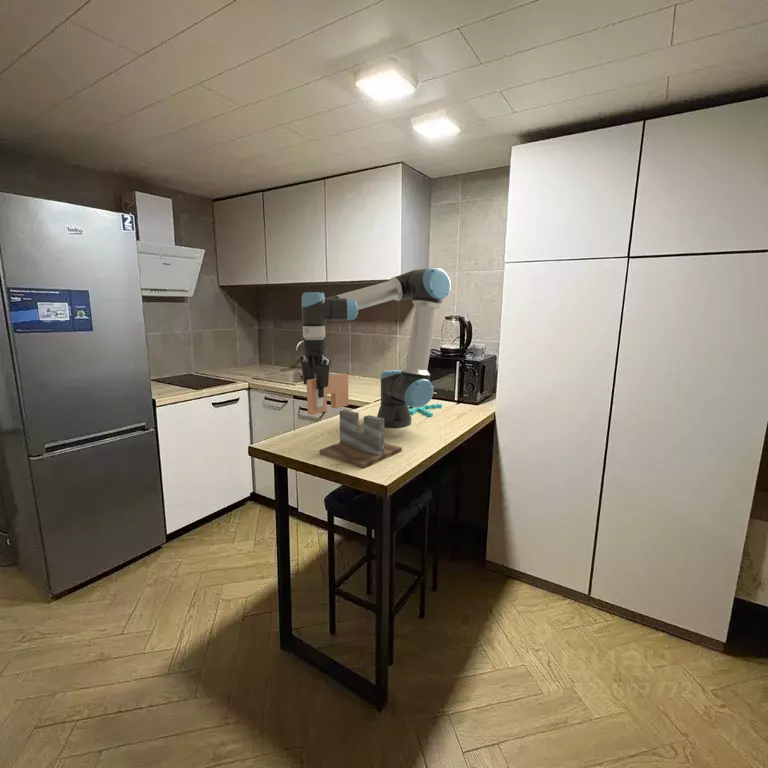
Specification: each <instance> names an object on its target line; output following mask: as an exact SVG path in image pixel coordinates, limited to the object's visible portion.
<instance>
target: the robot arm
mask: <svg viewBox="0 0 768 768" xmlns="http://www.w3.org/2000/svg"><path fill="white" fill-rule="evenodd" d="M451 284H452V283H451V279H450V277H449V275H448V274H447V272H446V271H445V270H444V269H442V268H438V267H428V268H421V269H412V270H410V271H407V272H405V273H402V274H399V275H396V276H392V277H390V278H389V280H388V281H384V282H382V283H377V284H373V285H369V286H366V287H363V288H359V289H355V290H350V291H348V292H344V293H341V294H337V295H332V296H329V297H325V293H324V292H322V291H321V292H317V291H314V292H312V291H311V292H309V291H307V292H305V291H304V292H303V293H302V295H301V315H302V317H301V318H302V338H304V339H303V341H302V344H303V345H302V348H303V350H304V351H305V353H304V355H303V356H300V357H299V361H300V364H301V371H302V379H303V380H302V381H303V384H304V385H305V386H307V380H309V379H315V378H316V382H317V387H316V389H315V391H316V407H321V406H323V397H324V387H328V381H329V376H330V365H331V361H332V360H331V358H327V357H326V354H325V350H326V348H327V346H326V345H327V344H326V342H327V341H326V339H325V338H326V321H347V322H348V321H353V320H355V319H357V317H358V315H359V310H362V309H366V308H369V307H373V306H377V305H380V304H383V303H387V302H390V301H393V300H394V301H396V302H399V301H402V300H403V301H404V300H412V301H411V302H412V304H413V305H414V313H413V318H412V324H411V325H412V326H411V332H410V338H409V344H408V349H407V350H408V351H407V357H406V363H405V366H404V368H402V369H389V370H388V369H387V370H384V371H382V372H381V374H380V406H379V409H378V413H377V415H376V417H379V418H384V428H385V427H386V428H403V427H404V428H405V427H407V426H410V425H411V424H412V415H410V412H409V408H408V406H410V407H416V408H419V407H423V406H426V405H428V403H430V401H431V400H432V398H433V395H434V385H432V382H431V381H430V379H431V373H430V372H429V371H428V367H429V362H430V361H429V360H430V355H431V349H432V348H431V347H432V342H433V336H434V331H435V326H436V325H435V324H436V318H437V312H438V309H439V308H441V307H442V306H443V305H442V304H443V299H445V298H446V297H447V296H448V295H449V294H450V291H451V288H452V287H451V286H452V285H451ZM320 384H321V385H320Z"/></svg>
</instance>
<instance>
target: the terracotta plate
mask: <svg viewBox="0 0 768 768" xmlns="http://www.w3.org/2000/svg"><path fill="white" fill-rule="evenodd" d="M320 385H321V384H320ZM316 387H317V382H316V377H315V379H309V380H307V385H306V401H307V414H308V415H312V416H314V415H318V414H321V413H326V412H327V411H328V408H327V406H328V404H327V403H328V402H327V401H328V400H327V395H330V408H331V409H335V410H336V409H340V408H343V407H347V406H349V405H350V404H349V403H350V402H349V373H343V372H341V373H336V374H332V375H329V381H328V387H324V397H323V406H321V407H316V391H315V389H316Z"/></svg>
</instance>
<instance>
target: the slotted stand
mask: <svg viewBox="0 0 768 768" xmlns="http://www.w3.org/2000/svg"><path fill="white" fill-rule="evenodd" d="M401 452H403V447H402V446H399V445H395V444H392V443H391V444H390V443H387V442H385V426H384V418H379V417H377V416H374V415H370V414H368V415H364V416H363V430H362V429H360V414H359V412H357V411H352V410H347V409H342V410H339V442H338V443H335V444H332V445H329V446H327V447H323V448H320V449H319V454H320V455H321V456H324V457H328V458H331V459H334V460H338V461H341V462H343V463H346V464H349V465H352V466H355V467H359V468H362V469H365V468H368V467H371V466H373V465H375V464H378V463H379V462H381V461H383V460H386V459H388V458H391V457H393V456H395V455H397V454H399V453H401Z"/></svg>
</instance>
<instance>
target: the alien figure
mask: <svg viewBox="0 0 768 768" xmlns="http://www.w3.org/2000/svg"><path fill="white" fill-rule="evenodd" d="M408 408H409V412H410V416H414V415H415V414H416V413H421V414H423V416H426V417H427V418H433V416H434V414H433V413H434V412H431V411H430V410H431V409H432V410H436V409H440V410H441V409H442V408H443V403H437V404H426V405H425V406H423V407H419V408H416V407H410V406H408ZM428 409H430V410H428ZM421 414H420V415H421Z"/></svg>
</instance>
